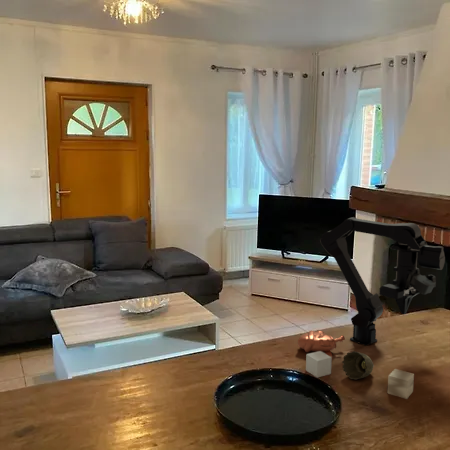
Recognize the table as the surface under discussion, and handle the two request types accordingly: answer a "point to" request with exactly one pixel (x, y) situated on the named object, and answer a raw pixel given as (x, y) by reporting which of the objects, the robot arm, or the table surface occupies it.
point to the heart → (318, 342)
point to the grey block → (318, 364)
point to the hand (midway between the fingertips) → (403, 313)
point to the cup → (357, 365)
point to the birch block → (400, 383)
